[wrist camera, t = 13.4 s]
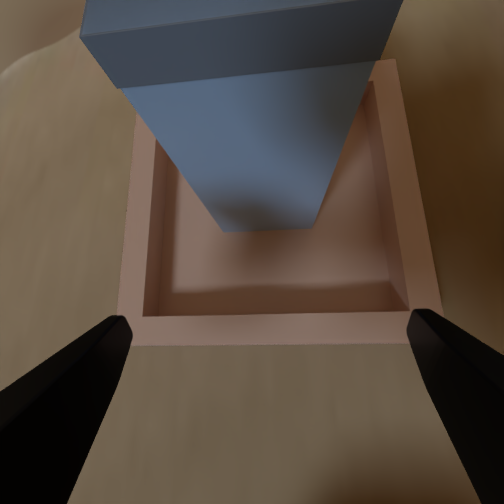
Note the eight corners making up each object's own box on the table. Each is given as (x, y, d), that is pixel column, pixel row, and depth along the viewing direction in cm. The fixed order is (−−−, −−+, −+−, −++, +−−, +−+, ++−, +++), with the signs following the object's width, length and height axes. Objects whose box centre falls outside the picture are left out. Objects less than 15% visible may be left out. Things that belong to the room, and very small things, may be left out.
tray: (422, 338, 15) (449, 343, 13) (137, 341, 17) (113, 346, 15) (380, 90, 19) (395, 58, 17) (155, 113, 21) (139, 87, 19)
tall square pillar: (312, 229, 17) (405, -6, 4) (222, 233, 18) (79, 37, 5) (307, 161, 18) (370, -179, 6) (223, 167, 19) (109, -128, 6)
